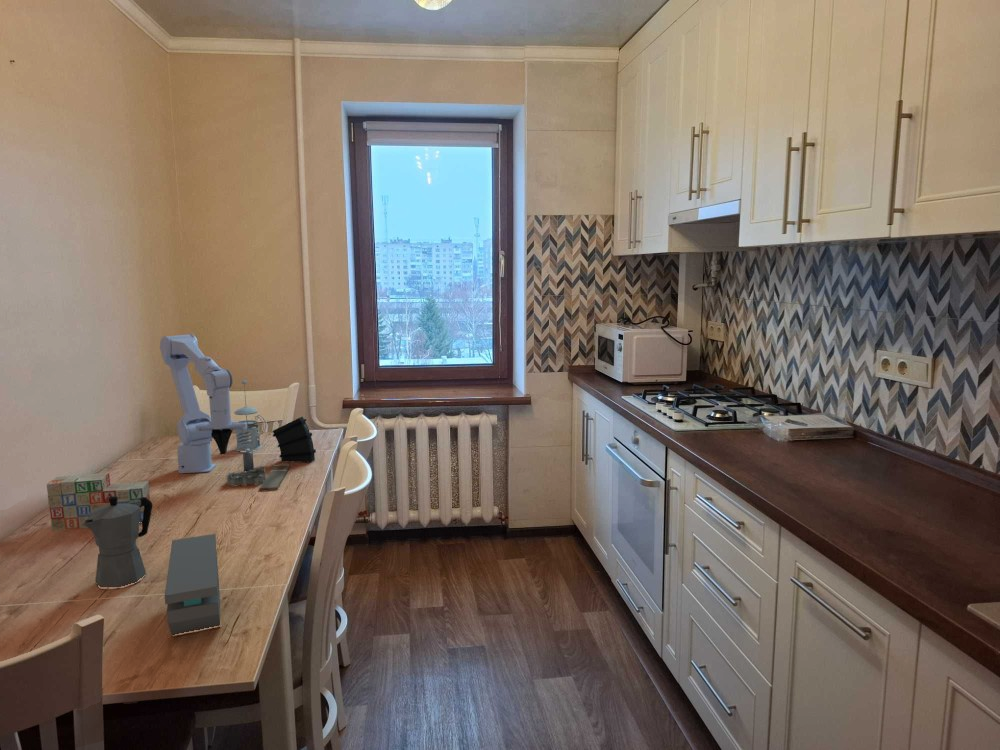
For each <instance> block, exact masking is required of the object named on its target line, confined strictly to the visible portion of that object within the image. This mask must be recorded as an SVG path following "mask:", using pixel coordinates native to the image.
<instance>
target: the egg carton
mask: <svg viewBox="0 0 1000 750" xmlns="http://www.w3.org/2000/svg"><path fill="white" fill-rule="evenodd" d="M265 470H266V467H265V466H257V467H254V470H249V471H246V472H245V471H244V470H243V471H239V472H236V473H235V472H229V473H228V474H227V475H226V477H227V480H226V481H227V486H228V485H231V486H234V487H236V486H235V485H237V486H240V485H239V484H242V485H241V486H243V485H247V486H249V485H255V486H258V485H261V484H260V483H262V484H263V482H264V479H266V473H265ZM248 484H249V485H248ZM231 486H230V487H231Z"/></svg>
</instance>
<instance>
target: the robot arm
mask: <svg viewBox="0 0 1000 750" xmlns="http://www.w3.org/2000/svg"><path fill="white" fill-rule="evenodd" d="M159 350H160V354H161V357H162V360H163V363H164V364H165V365H167V366H169V369H170V372H171V375H172V381H173V383H174V387H175V390H176V392H177V396H178V399H179V402H180V406H181V409H182V414H183V415H182V417H181V418H179V419H178V421H177V424H176V426H177V435H178V439H179V440H180V442H181V443H179V444H178V446H177V463H178V471H177V472H178V474H187V473H188V474H190V473H191V474H192V473H209V472H211V471H212V470H213V469H214V468H215V466H216V465H217V463H213V462H212V451H211V443H212V442H213V440H214V441H215V443H216V445H217V447H218V451H219V454H220V455H226V454H227V452H228V444H229V442H230V438H231V435H232V433H233V431H236V430H246V429H247V423H240V422H241V421H238V422H236V421H232V411H231V398H230V397H231V396H230V388H232V386H233V375H232V373H231V372H230V369H227V368H221V367H220V366H219V365H218V364H217V363H216V361H214V360H213V358H212V357H210V356H205V354H204V353H203V352H202V350H201V349H200V348H199V341H198V339H197V337H196V336H195V334H193V333H189V334H181V335H163V336H162V337H161V338H160V342H159ZM191 362H192V363H194V370H195V371H196V372H197V374H198V375H199V376H201V378H202V379H203V384H204V387H205V390H206V394H207V396H208V399H209V411H210V412H209V413H207V412H204V411H202V410H201V408H200V405H199V401H198V399H197V395H196V391H195V389H194V384H193V381H192V378H191V374H190V372H189V367H188V364H190V363H191Z"/></svg>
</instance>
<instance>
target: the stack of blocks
mask: <svg viewBox="0 0 1000 750" xmlns="http://www.w3.org/2000/svg"><path fill="white" fill-rule="evenodd" d="M149 483H150V482H149V481H148V480H146V481H137V482H136V481H132V482H119V483H111V479H110V472H102V473H89V474H80V475H79V474H78V475H65V476H57V477H55V478H53V479H52V480H50V481H49V482H48V483H46V490H47V501H48V507H49V513H50V515H49V516H50V523H51V529H52V530H51V531H53V532H54V531H62V530H63V531H65V530H75V529H76V530H77V529H89V528H88V527H87V526H84V525H83V522H84V521H85V520H86V519H88V514H89V513H91V512H92V511H94V510H96V509H97V508H101V507H105V506H109V505H110V502H109V499H108V498H110V497H113V496H116V497H118V500H117V504H129V502H130V501H133V500H137V499H140V498H142V497H146V498H147V499H149V500H150V501H151V496H150V495H151V494H150V484H149ZM143 516H144V506H142V507H140V520H139V522H142V520H143Z"/></svg>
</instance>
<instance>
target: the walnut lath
mask: <svg viewBox="0 0 1000 750" xmlns="http://www.w3.org/2000/svg"><path fill="white" fill-rule="evenodd" d="M289 467H290V468H291V464H289V463H287V464H274V465H273V466H272V467H271V469H270V471H269V473H268V474H267V475H266V476H265V480H264V482H263V483H262V484H260V487H259V491H260V492H263V491H262V490H266V491H278V490H279V488H280V487H281V485H282V483H283V481H284V479H285V478H286V475H287V473H288V472H287V471H289V470H288V469H290V468H289ZM283 478H284V479H283ZM282 480H283V481H282ZM281 482H282V483H281ZM280 484H281V485H280ZM277 489H278V490H277Z"/></svg>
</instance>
